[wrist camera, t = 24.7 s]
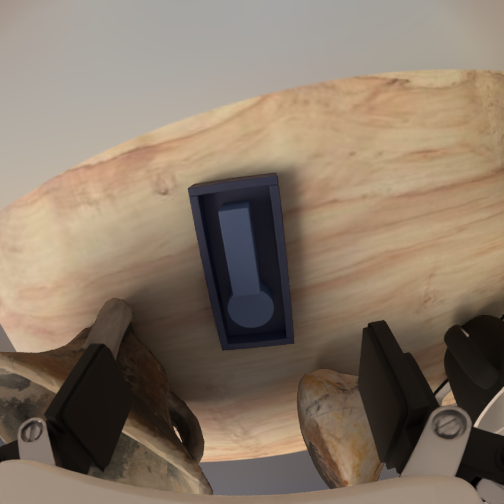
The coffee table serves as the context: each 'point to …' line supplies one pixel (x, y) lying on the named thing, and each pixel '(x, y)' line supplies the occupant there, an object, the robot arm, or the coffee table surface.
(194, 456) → the bowl
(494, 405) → the mug
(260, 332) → the blue tray
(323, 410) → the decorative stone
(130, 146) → the coffee table surface
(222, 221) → the blue spoon
